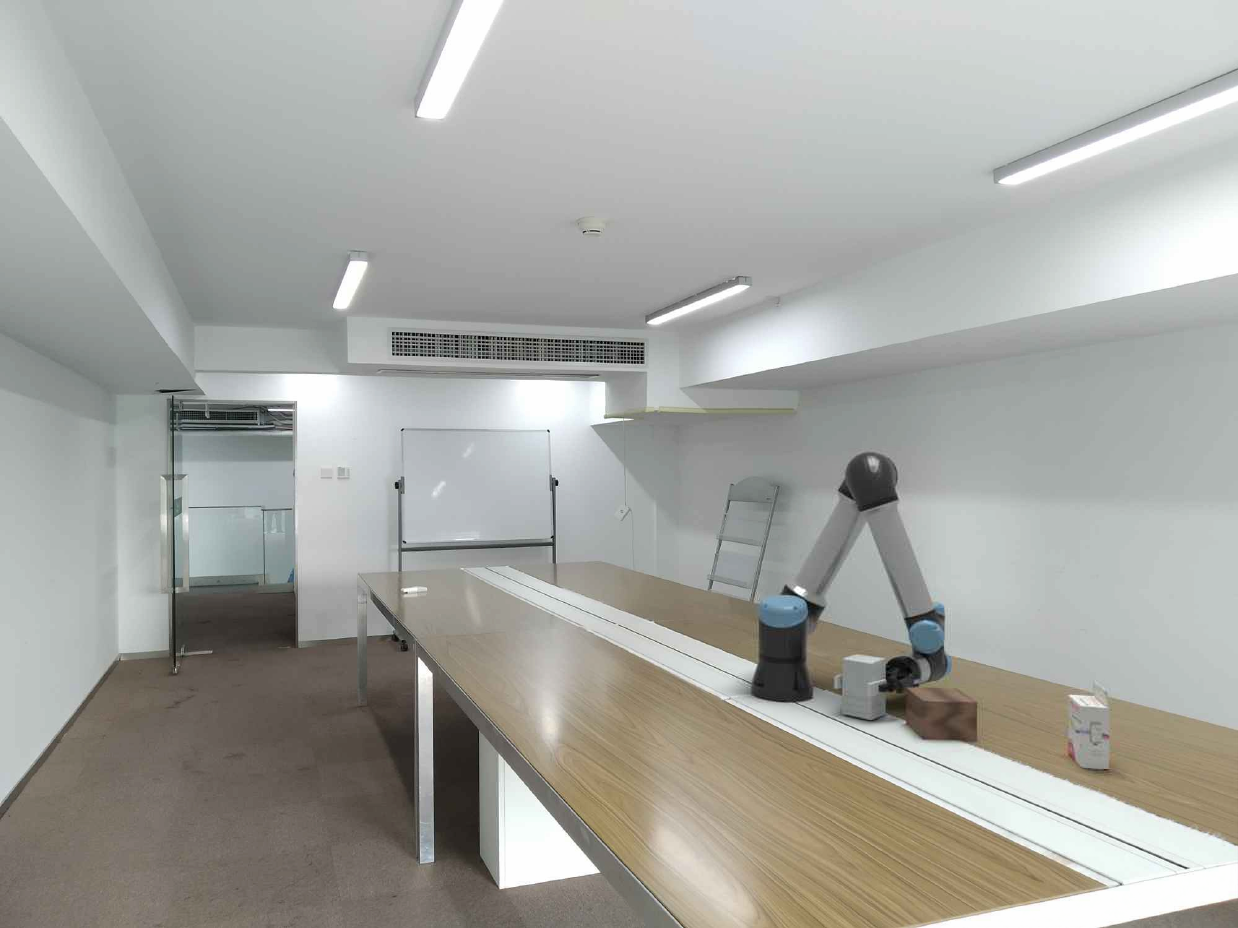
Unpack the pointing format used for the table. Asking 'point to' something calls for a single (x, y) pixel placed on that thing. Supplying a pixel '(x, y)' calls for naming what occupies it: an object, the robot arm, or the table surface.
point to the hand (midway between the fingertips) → (851, 686)
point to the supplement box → (862, 686)
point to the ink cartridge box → (1089, 729)
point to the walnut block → (941, 714)
